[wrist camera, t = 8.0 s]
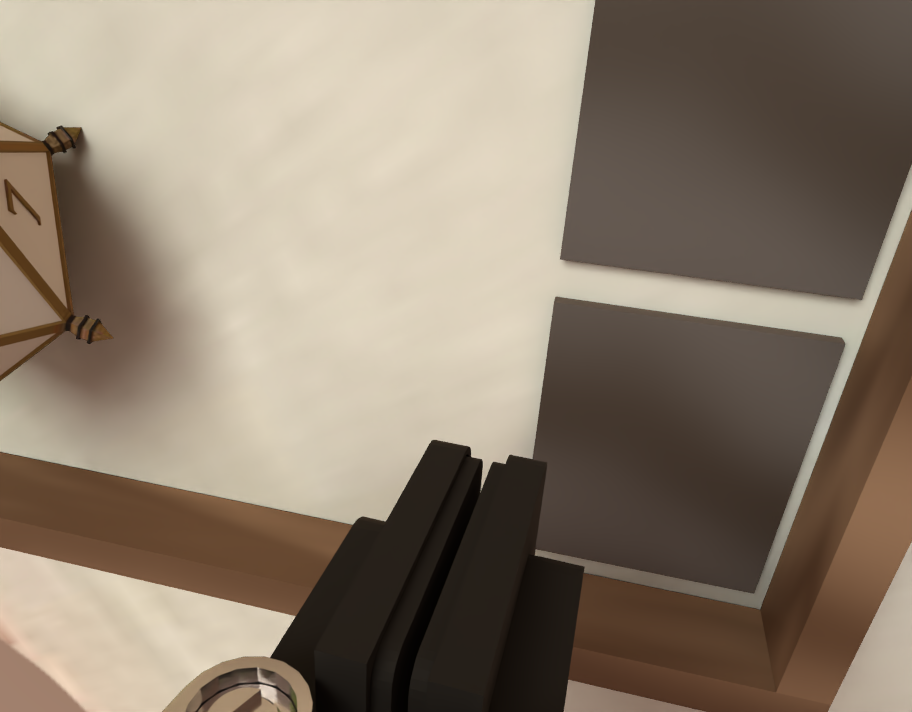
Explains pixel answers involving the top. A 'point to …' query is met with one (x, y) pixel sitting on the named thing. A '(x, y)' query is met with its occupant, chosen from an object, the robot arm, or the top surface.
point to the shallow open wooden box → (660, 370)
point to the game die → (34, 250)
